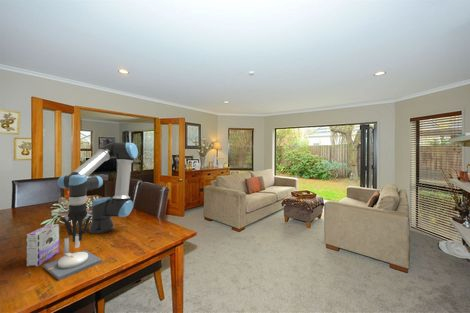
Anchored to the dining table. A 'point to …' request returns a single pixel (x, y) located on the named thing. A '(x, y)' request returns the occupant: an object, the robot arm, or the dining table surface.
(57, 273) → the board
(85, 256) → the dial
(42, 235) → the candy box
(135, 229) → the dining table surface
